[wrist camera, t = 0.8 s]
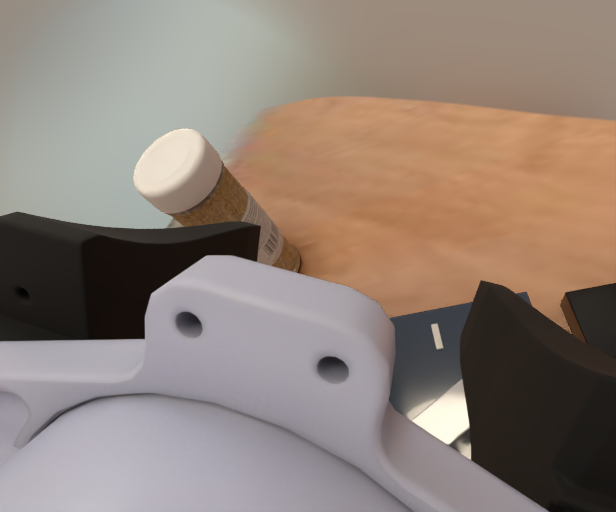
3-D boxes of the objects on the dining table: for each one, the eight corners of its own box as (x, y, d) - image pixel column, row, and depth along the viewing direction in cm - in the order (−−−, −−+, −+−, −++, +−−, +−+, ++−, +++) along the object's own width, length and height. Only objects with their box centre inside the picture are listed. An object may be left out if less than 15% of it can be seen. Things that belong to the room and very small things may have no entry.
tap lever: (421, 477, 19) (408, 477, 16) (399, 447, 20) (383, 441, 17) (518, 397, 19) (525, 381, 16) (492, 371, 20) (493, 351, 17)
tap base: (617, 565, 17) (640, 580, 15) (387, 567, 20) (373, 580, 18) (524, 310, 23) (529, 289, 21) (358, 340, 26) (344, 325, 24)
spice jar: (265, 238, 33) (159, 122, 22) (311, 250, 31) (217, 126, 20) (241, 286, 32) (115, 187, 21) (287, 302, 30) (171, 200, 19)
